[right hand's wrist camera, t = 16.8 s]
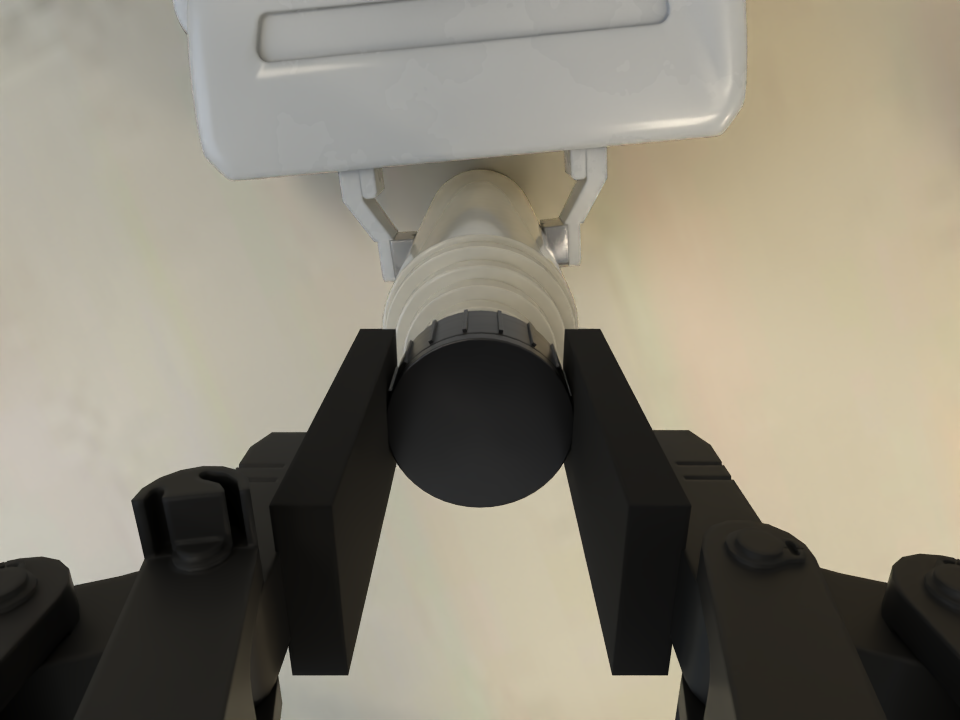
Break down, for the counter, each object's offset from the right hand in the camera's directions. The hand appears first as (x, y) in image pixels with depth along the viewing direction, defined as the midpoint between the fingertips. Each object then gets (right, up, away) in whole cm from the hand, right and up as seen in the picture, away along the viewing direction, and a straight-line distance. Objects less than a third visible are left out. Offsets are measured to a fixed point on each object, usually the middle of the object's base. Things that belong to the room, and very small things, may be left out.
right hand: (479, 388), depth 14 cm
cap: (0, -1, -1) cm, 2 cm away
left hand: (0, +4, +13) cm, 14 cm away
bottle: (0, +8, +19) cm, 20 cm away
